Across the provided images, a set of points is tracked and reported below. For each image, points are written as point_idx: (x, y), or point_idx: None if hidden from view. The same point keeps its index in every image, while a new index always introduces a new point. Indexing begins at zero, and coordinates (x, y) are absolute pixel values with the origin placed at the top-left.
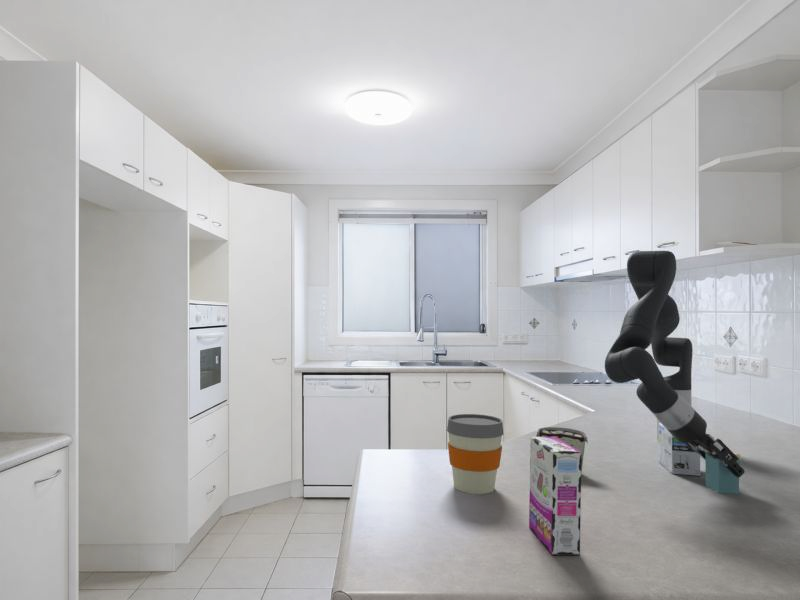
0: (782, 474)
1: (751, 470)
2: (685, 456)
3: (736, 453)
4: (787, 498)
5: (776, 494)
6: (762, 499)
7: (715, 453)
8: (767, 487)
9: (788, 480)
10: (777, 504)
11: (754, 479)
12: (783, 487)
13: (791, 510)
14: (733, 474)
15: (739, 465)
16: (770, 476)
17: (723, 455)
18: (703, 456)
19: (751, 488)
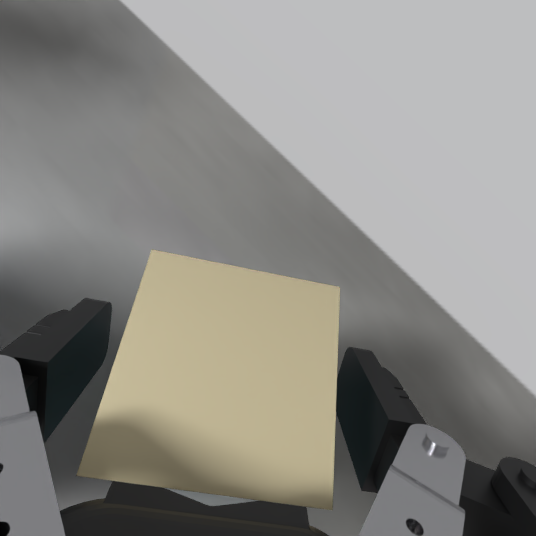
0: (114, 27)
1: (36, 65)
2: None
3: (309, 287)
4: (336, 225)
5: (296, 223)
6: (348, 327)
7: (274, 499)
8: (223, 184)
9: (172, 64)
10: (398, 319)
11: (130, 146)
12: (231, 137)
13: (453, 324)
14: (337, 414)
15: (388, 380)
16: (119, 72)
17: None
18: (50, 429)
19: (223, 252)
